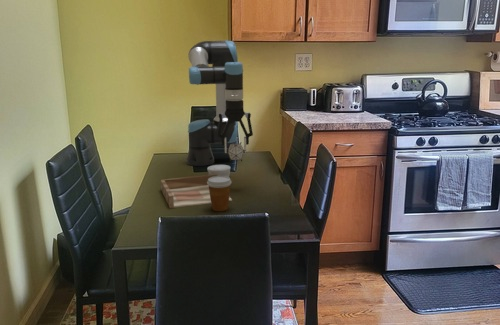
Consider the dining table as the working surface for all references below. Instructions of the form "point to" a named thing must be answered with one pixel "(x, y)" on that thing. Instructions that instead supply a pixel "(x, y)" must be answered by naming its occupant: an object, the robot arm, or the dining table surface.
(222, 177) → the disposable coffee cup
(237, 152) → the game die
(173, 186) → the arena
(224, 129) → the robot arm
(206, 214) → the dining table surface
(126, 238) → the dining table surface
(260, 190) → the dining table surface
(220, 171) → the ramekin
